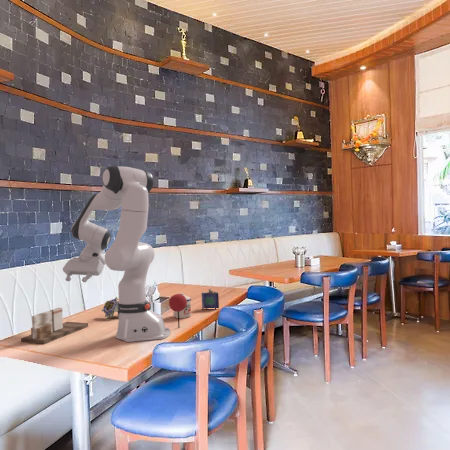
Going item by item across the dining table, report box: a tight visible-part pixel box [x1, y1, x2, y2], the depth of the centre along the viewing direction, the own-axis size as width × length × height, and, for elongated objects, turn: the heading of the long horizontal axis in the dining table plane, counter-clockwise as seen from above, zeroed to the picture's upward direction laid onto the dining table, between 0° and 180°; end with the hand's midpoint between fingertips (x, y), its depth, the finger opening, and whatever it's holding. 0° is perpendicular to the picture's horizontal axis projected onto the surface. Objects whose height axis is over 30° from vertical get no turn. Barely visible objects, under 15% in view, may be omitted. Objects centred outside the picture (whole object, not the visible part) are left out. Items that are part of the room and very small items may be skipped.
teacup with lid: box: [173, 292, 192, 319], centre depth 201 cm, size 12×9×12 cm
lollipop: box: [168, 293, 187, 328], centre depth 179 cm, size 8×8×15 cm
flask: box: [201, 288, 220, 309], centre depth 214 cm, size 9×3×11 cm, turn 79°
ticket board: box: [20, 309, 89, 345], centre depth 176 cm, size 27×12×11 cm, turn 160°
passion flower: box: [101, 296, 119, 320], centre depth 203 cm, size 11×11×12 cm
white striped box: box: [51, 307, 64, 331], centre depth 176 cm, size 5×2×9 cm, turn 160°
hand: (75, 281), depth 188 cm, fingers open, 8 cm apart
